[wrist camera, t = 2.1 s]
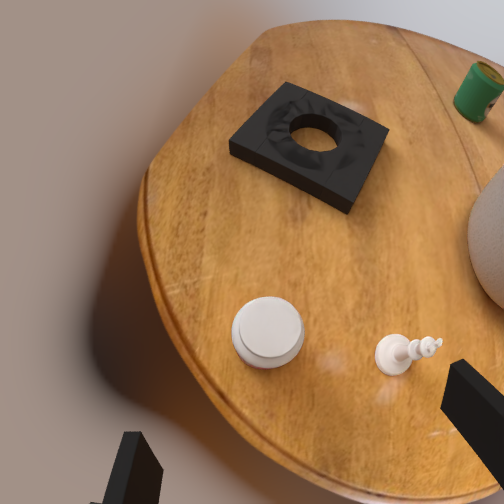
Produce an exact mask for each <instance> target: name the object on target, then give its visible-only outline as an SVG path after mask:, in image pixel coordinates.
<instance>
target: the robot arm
mask: <svg viewBox="0 0 504 504" xmlns="http://www.w3.org/2000/svg"><path fill="white" fill-rule="evenodd" d="M440 409H441V410H442V411H443V412H444V414H445V415H446V416H447V417H448V418H449V420H450V421H451V422H452V423H453V425H454V426H455V427H456V428H457V430H458V431H459V432H460V433H461V435H462V436H463V437H464V439H465V440H466V441H467V442H468V444H469V445H470V446H471V447H472V449H473V450H474V451H475V453H476V454H477V455H478V457H479V458H480V459H481V460H482V462H483V463H484V464H485V466H486V467H487V468H488V470H489V471H490V472H491V474H492V475H493V476H494V478H495V479H496V480H497V482H498V483H499V484H500V486H501V487H502V488H503V490H504V396H503V395H502V394H501V393H500V392H499V391H498V390H497V389H496V388H495V387H494V386H493V385H492V384H491V383H489V382H488V381H487V380H486V379H485V378H484V377H483V376H482V375H481V374H480V373H479V372H478V371H476V370H475V369H474V368H473V367H472V366H471V365H470V364H469V363H468V362H466V361H465V360H464V359H461V360H459V361H457V362H454V363H452V364H450V369H449V374H448V379H447V383H446V387H445V392H444V396H443V400H442V404H441V407H440ZM162 477H163V468H162V467H161V465H160V463H159V462H158V460H157V458H156V457H155V455H154V454H153V452H152V450H151V448H150V447H149V445H148V443H147V442H146V440H145V438H144V436H143V434H142V432H141V431H139V432H124V434H123V437H122V441H121V443H120V446H119V449H118V453H117V456H116V459H115V462H114V465H113V469H112V472H111V475H110V479H109V482H108V485H107V489H106V492H105V496H104V499H103V503H102V504H158V503H159V496H160V490H161V483H162ZM90 504H101V503H94V502H91V503H90Z"/></svg>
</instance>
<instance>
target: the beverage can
mask: <svg viewBox="0 0 504 504" xmlns="http://www.w3.org/2000/svg"><path fill="white" fill-rule="evenodd" d="M503 90H504V79H503V78H502V76H501V75H500V74H499V73H498V72H497V71H496V70H495V69H494V68H492V67H491V66H490V65H488V64H486V63H484V62H482V61H477V63H474V64H472V66H471V68H470V70H469V72H468V74H467V75H466V77H465V79H464V81H463V83H462V85H461V86H460V88H459V90H458V92H457V93H456V95H455V97H454V105H455V107H456V109H457V110H458V112H459V113H460V114H461V115H462V116H464V117H465V118H466V119H468V120H469V121H471V122H474V123H479V122H481V121H483V120H484V119H485V117H486V116H487V114H488V113H489V112H490V110H491V109H492V107H493V106H494V104H495V103H496V101H497V100H498V98H499V97H500V95H501V94H502V92H503Z"/></svg>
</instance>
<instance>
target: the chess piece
mask: <svg viewBox="0 0 504 504" xmlns="http://www.w3.org/2000/svg"><path fill="white" fill-rule="evenodd" d="M442 342H443V341H442V339H441V338H439V339H437V340H436V341H435V340H434V339H433V338H432V337H425V338H423V339H422V340H417V339H416V340H413V341H411V342H410V341H409V340H408V339H407V338H406V337H405V336H403V335H400V334H390V335H387V336H385V337H384V338H383V339H382V340H381V341H380V342H379V343H378V345H377V347H376V351H375V361H376V364H377V366H378V368H379V369H380V370H381V371H382V372H383V373H384V374H387V375H390V376H395V375H399V374H401V373H403V372H405V371H406V370H407V369H408V368H409V366H410V365H411V363H412V360H419V359H421V358H422V357H426V358H429V357H432V356H433V355H434V354H435V352H436V349H437V348H439V347H440V346H441V345H442Z"/></svg>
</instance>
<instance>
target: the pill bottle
mask: <svg viewBox="0 0 504 504" xmlns="http://www.w3.org/2000/svg"><path fill="white" fill-rule="evenodd" d="M304 335H305V329H304V324H303V320H302V318H301V316H300V314H299V313H298V311H297V310H296V309H295V308H294V307H293V306H292V305H291V304H290V303H289V302H287V301H286V300H284V299H281V298H278V297H262V298H257V299H254V300H252V301H250V302H248V303H247V304H246V305H244V306H243V307H242V308H241V309H240V310H239V312H238V313H237V315H236V317H235V319H234V321H233V325H232V341H233V345H234V347H235V349H236V352H237V354H238V356H239V357H240V358H241V360H242V361H243V362H244V363H246V364H247V365H248V366H251V367H253V368H256V369H262V370H264V369H272V368H276V367H280V366H283V365H284V364H286V363H288V362H289V361H291V360H292V359H293V358H294V357H295V356H296V355H297V354H298V352H299V351H300V349H301V347H302V344H303V341H304Z"/></svg>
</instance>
